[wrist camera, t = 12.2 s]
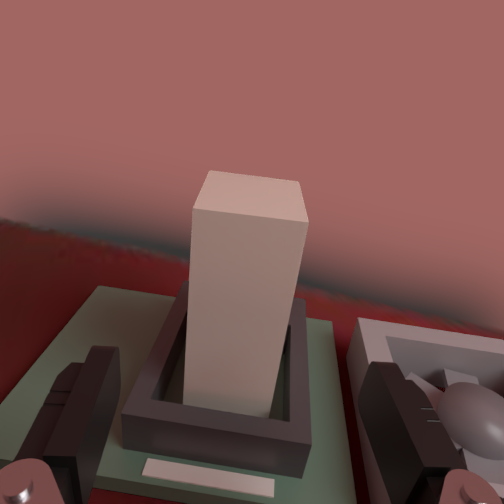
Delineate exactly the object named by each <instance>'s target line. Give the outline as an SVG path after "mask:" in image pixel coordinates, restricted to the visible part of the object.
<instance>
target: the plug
mask: <svg viewBox="0 0 504 504" xmlns="http://www.w3.org/2000/svg"><path fill="white" fill-rule="evenodd" d="M308 224H309V221H308V217H307V213H306V209H305V205H304V201H303V197H302V192H301V189H300V185H299V182H298V181H291V180H283V179H275V178H266V177H259V176H251V175H243V174H235V173H226V172H218V171H211V170H210V171H209V173H208V175H207V178H206V180H205V182H204V184H203V186H202V189H201V191H200V193H199V196H198V198H197V200H196V202H195V204H194V207H193V215H192V235H191V254H190V255H191V256H190V274H189V293H188V313H187V333H186V352H185V372H184V391H183V405H189V406H195V407H201V408H207V409H213V410H220V411H226V412H232V413H238V414H244V415H250V416H256V417H262V418H269V414H270V409H271V404H272V399H273V394H274V390H275V385H276V380H277V375H278V370H279V365H280V360H281V355H282V351H283V346H284V341H285V336H286V331H287V326H288V321H289V317H290V312H291V307H292V302H293V297H294V292H295V287H296V283H297V278H298V273H299V268H300V263H301V258H302V253H303V249H304V243H305V239H306V234H307V229H308Z"/></svg>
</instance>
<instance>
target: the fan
mask: <svg viewBox="0 0 504 504" xmlns="http://www.w3.org/2000/svg"><path fill="white" fill-rule="evenodd" d="M346 361H347V367H348V373H349V379H350V385H351V391H352V397H353V403H354V409H355V415H356V421H357V427H358V433H359V439H360V445H361V451H362V456H363V462H364V468H365V474H366V480H367V486H368V492H369V498H370V504H391V502H390V499H389V496H388V493H387V490H386V487H385V485H384V482H383V479H382V476H381V473H380V470H379V467H378V465H377V462H376V459H375V456H374V453H373V450H372V448H371V445H370V442H369V439H368V436H367V433H366V430H365V428H364V425H363V422H362V419H361V416H360V413H359V408H358V396H359V392H360V389H361V386H362V384H363V381H364V378H365V375H366V372H367V369H368V367H369V364H370V363H371V362H372V361H377V362H394V363H396V364H397V365H398V366H399V368H400V370H401V372H402V373H403V375H404V377H405V379H406V380H413V381H414V382H415V383H416V384H417V385H418V386H419V387H420V388H421V389H422V390H423V391H424V392H425V394H426V395H427V397H428V399H429V401H430V402H431V404H432V406H433V410H435V411H436V413H437V415H438V417H439V419H440V423H442V424H443V426H444V428H445V429H446V431H447V433H448V435H449V437H450V438H451V440H452V442H453V444H454V445H455V447H456V449H457V451H458V453H459V454H460V456H461V458H462V460H463V462H464V463H465V465H466V467H467V469H468V470H469V471H471V472H473V473H475V474H477V475H479V476H480V477H482V478H483V479H484V480H486V481H487V482H488V483H489V484H490V485H491V486H492V487H493V488H494V489H495V491H496V492H497V494H498V495H499V496H500V497H502V498H504V398H503V397H504V340H500V339H493V338H487V337H481V336H474V335H468V334H461V333H455V332H448V331H442V330H435V329H429V328H422V327H416V326H410V325H403V324H397V323H390V322H384V321H377V320H371V319H364V318H358V319H357V322H356V325H355V328H354V332H353V335H352V338H351V341H350V345H349V348H348V351H347V354H346ZM434 386H438V387H444V388H445V389H446V390H445V392H442V391H441V390H439V389H437V388H436V387H434Z"/></svg>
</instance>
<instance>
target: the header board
mask: <svg viewBox="0 0 504 504" xmlns="http://www.w3.org/2000/svg"><path fill="white" fill-rule="evenodd" d="M188 293H189V281H184V282H183V284H182V286H181V288H180V290H179V292H178V294H177V296H176V297H170V296H164V295H157V294H151V293H144V292H138V291H131V290H125V289H119V288H112V287H106V286H98V287H97V288H96V289H95V291H94V292H93V293H92V294H91V295H90V297H89V298H88V299H87V300H86V301H85V303H84V304H83V305H82V306H81V308H80V309H79V310H78V311H77V312H76V314H75V315H74V316H73V317H72V318H71V320H70V321H69V322H68V323H67V324H66V326H65V327H64V328H63V329H62V331H61V332H60V333H59V334H58V335H57V337H56V338H55V339H54V340H53V341H52V343H51V344H50V345H49V346H48V347H47V349H46V350H45V351H44V352H43V354H42V355H41V356H40V357H39V358H38V360H37V361H36V362H35V363H34V364H33V366H32V367H31V368H30V369H29V370H28V372H27V373H26V374H25V375H24V377H23V378H22V379H21V380H20V381H19V383H18V384H17V385H16V386H15V387H14V389H13V390H12V391H11V392H10V393H9V395H8V396H7V397H6V398H5V400H4V401H3V402H2V403H1V404H0V470H1V469H2V468H3V467H5V466H7V465H9V464H10V463H11V462H12V461H13V460H14V458H15V457H16V455H17V453H18V451H19V449H20V447H21V445H22V444H23V442H24V440H25V438H26V436H27V434H28V432H29V430H30V428H31V426H32V424H33V422H34V420H35V418H36V416H37V414H38V412H39V410H40V408H41V406H43V402H44V401H45V399H46V397H47V395H48V393H49V392H50V389H51V387H52V385H53V383H54V381H55V379H56V377H57V375H58V374H59V373H60V372H61V371H63V370H64V369H65V368H66V367H67V366H68V365H69V364H70V363H71V362H79V363H84V362H85V360H86V357H87V355H88V353H89V351H90V349H91V347H92V346H93V345H96V346H114V347H119V353H120V372H121V390H120V397H119V402H118V405H117V408H116V412H115V415H114V418H113V422H112V425H111V428H110V431H109V435H108V438H107V441H106V444H105V448H104V451H103V454H102V458H101V461H100V464H99V467H98V471H97V474H96V477H95V481H94V484H93V488H99V489H105V490H111V491H117V492H123V493H129V494H134V495H140V496H146V497H152V498H158V499H164V500H169V501H175V502H181V503H187V504H357V501H356V493H355V486H354V479H353V472H352V464H351V457H350V450H349V443H348V436H347V428H346V421H345V414H344V407H343V399H342V392H341V385H340V378H339V370H338V363H337V356H336V349H335V342H334V334H333V327H332V322H331V321H324V320H318V319H312V318H306V302H305V299H300V298H294V297H293V302H292V307H291V312H290V317H289V321H288V326H287V331H286V336H285V341H284V346H283V351H282V355H281V360H280V365H279V370H278V375H277V380H276V385H275V390H274V394H273V399H272V404H271V409H270V414H269V418H262V417H256V416H250V415H244V414H238V413H232V412H226V411H220V410H213V409H207V408H201V407H195V406H189V405H183V391H184V372H185V352H186V333H187V313H188Z"/></svg>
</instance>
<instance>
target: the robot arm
mask: <svg viewBox="0 0 504 504" xmlns="http://www.w3.org/2000/svg"><path fill="white" fill-rule="evenodd" d="M120 390H121V372H120V353H119V347H114V346H96V345H93V346H92V347H91V349H90V351H89V353H88V355H87V357H86V360H85V362H84V363H79V362H71V363H70V364H69V365H68V366H67V367H66V368H65V369H64V370H63V371H61V372H60V373H59V374H58V375H57V377H56V379H55V381H54V383H53V385H52V387H51V389H50V392H49V393H48V395H47V397H46V399H45V401H44V402H43V406H41V408H40V410H39V412H38V414H37V416H36V418H35V420H34V422H33V424H32V426H31V428H30V430H29V432H28V434H27V436H26V438H25V440H24V442H23V444H22V445H21V447H20V449H19V451H18V453H17V455H16V457H15V458H14V460H13V461H12V462H11V463H10V464H9V465H7V466H5V467H3V468H2V469H1V470H0V504H87V503H88V500H89V497H90V494H91V490H92V487H93V484H94V481H95V477H96V474H97V471H98V467H99V464H100V461H101V458H102V454H103V451H104V448H105V444H106V441H107V438H108V435H109V431H110V428H111V425H112V422H113V418H114V415H115V412H116V408H117V405H118V402H119V397H120ZM358 408H359V413H360V416H361V419H362V422H363V425H364V428H365V430H366V433H367V436H368V439H369V442H370V445H371V448H372V450H373V453H374V456H375V459H376V462H377V465H378V467H379V470H380V473H381V476H382V479H383V482H384V485H385V487H386V490H387V493H388V496H389V499H390V502H391V504H504V498H502V497H500V496H499V495H498V494H497V492H496V491H495V489H494V488H493V487H492V486H491V485H490V484H489V483H488V482H487V481H486V480H484V479H483V478H482V477H480V476H479V475H477V474H475V473H473V472H471V471H469V470H468V469H467V467H466V465H465V463H464V462H463V460H462V458H461V456H460V454H459V453H458V451H457V449H456V447H455V445H454V444H453V442H452V440H451V438H450V437H449V435H448V433H447V431H446V429H445V428H444V426H443V424H442V423H440V419H439V417H438V415H437V413H436V411H435V410H433V406H432V404H431V402H430V401H429V399H428V397H427V395H426V394H425V392H424V391H423V390H422V389H421V388H420V387H419V386H418V385H417V384H416V383H415V382H414V381H413V380H406V379H405V377H404V375H403V373H402V372H401V370H400V368H399V366H398V365H397V364H396V363H394V362H377V361H372V362H371V363H370V364H369V367H368V369H367V372H366V375H365V378H364V381H363V384H362V386H361V389H360V392H359V396H358Z"/></svg>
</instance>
